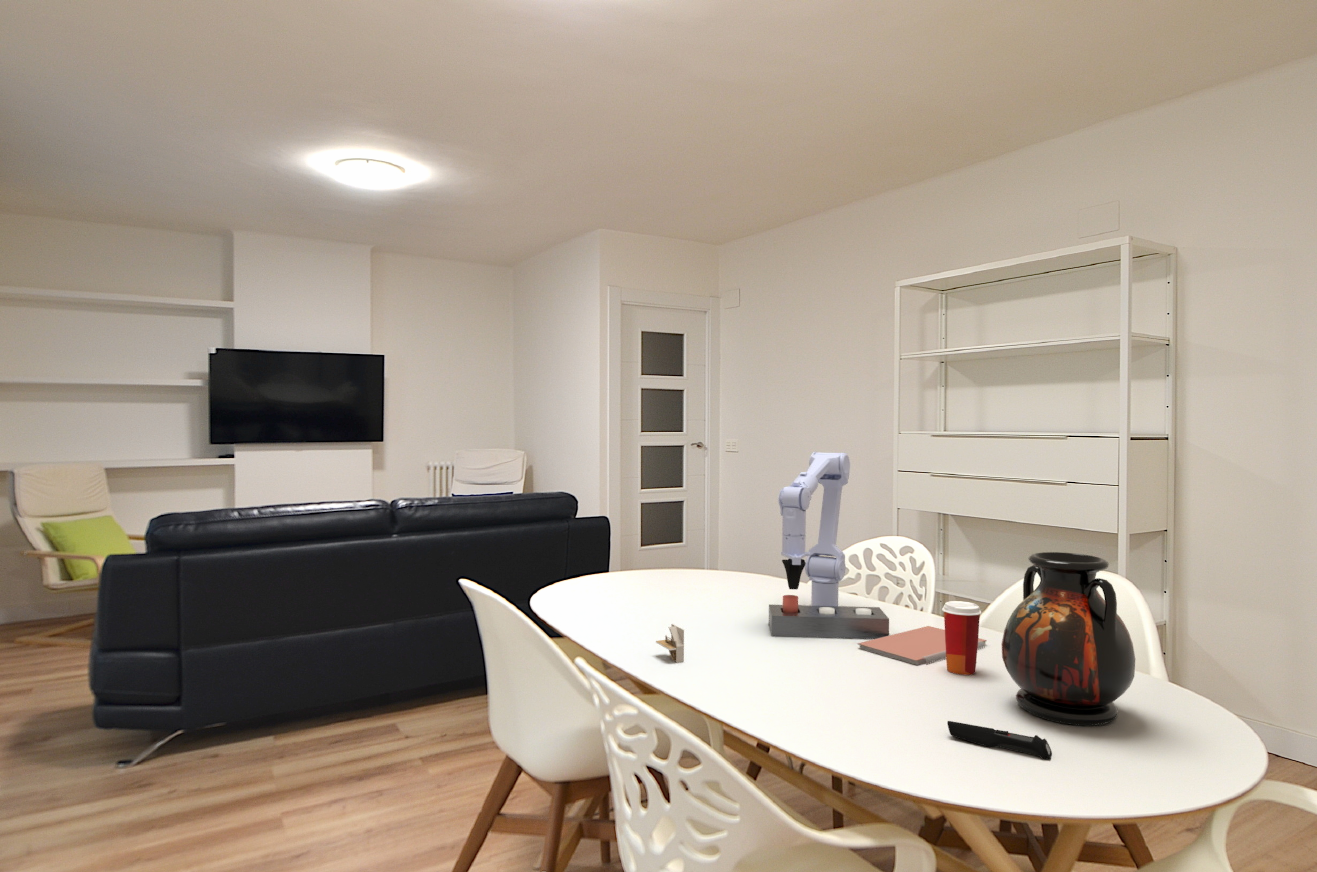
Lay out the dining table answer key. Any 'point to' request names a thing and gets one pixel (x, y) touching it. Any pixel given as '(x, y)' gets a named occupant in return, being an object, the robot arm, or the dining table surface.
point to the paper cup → (961, 636)
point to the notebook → (912, 645)
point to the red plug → (790, 604)
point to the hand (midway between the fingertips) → (793, 588)
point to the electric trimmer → (1001, 739)
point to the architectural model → (674, 643)
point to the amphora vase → (1068, 642)
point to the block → (828, 623)
